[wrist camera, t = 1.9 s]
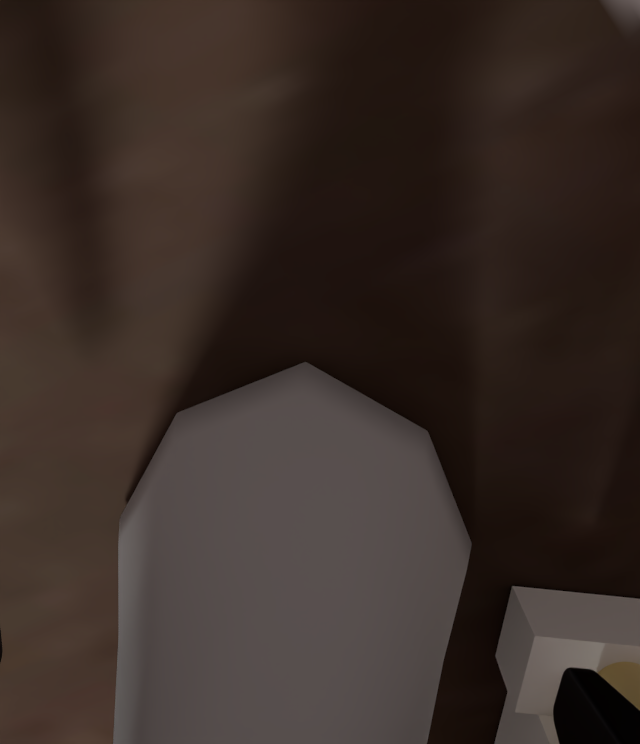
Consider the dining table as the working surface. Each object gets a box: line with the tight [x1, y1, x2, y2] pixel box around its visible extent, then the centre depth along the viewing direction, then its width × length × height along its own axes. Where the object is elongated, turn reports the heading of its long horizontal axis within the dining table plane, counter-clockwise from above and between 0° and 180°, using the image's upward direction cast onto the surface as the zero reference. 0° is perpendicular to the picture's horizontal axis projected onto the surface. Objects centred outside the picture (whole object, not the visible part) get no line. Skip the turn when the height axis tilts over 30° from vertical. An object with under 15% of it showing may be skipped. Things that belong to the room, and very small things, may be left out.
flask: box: [113, 362, 472, 744], centre depth 7 cm, size 7×7×10 cm
